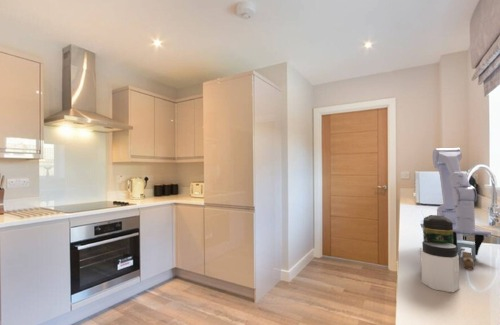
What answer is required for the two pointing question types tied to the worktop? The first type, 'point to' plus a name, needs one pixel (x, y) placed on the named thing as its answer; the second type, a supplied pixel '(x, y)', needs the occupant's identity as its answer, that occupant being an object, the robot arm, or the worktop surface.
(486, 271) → the worktop surface
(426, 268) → the jar
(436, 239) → the coffee jar
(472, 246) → the light blue open box
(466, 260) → the brown board
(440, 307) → the worktop surface
